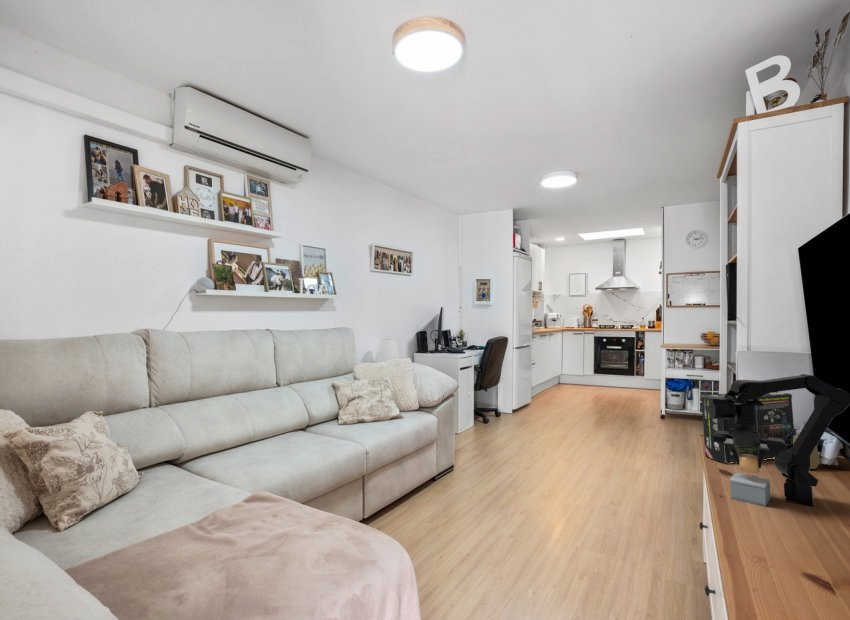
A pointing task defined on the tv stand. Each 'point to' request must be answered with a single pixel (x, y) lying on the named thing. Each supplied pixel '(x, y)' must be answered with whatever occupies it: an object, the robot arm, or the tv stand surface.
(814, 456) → the squeeze bottle
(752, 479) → the box lid
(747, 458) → the tan cylinder grey end
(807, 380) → the robot arm
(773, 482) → the tv stand surface
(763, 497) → the box
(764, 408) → the router box
